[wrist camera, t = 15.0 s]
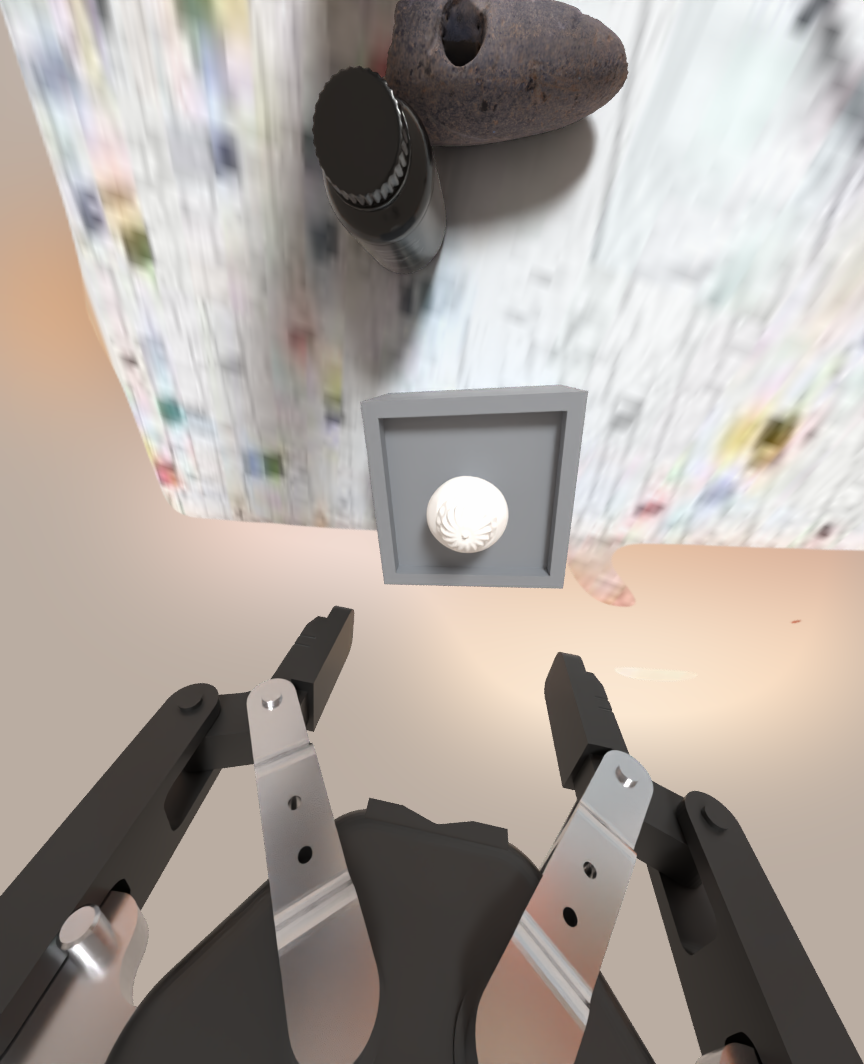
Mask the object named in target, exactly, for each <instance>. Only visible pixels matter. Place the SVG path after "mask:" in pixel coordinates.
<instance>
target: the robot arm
mask: <svg viewBox="0 0 864 1064" xmlns="http://www.w3.org/2000/svg"><path fill="white" fill-rule="evenodd" d="M353 624H354V610H353V609H349V608H344V607H339V606H334V607H333V609H332V610H331V612H330V614H329V616H328V617H327V618H325V617H320V616H318V617H316V618H315V619H314V620H312V621H311V622H309V623H308V624H307V625H306V627H305V628H304V630H303V631H302V633H301V634H300V636H299V637H298V639H297V640H296V642H295V644H294V645H293V646H292V648H291V649H290V651H289V652H288V654H287V655H286V657H285V658H284V660H283V661H282V663H281V665H280V666H279V667H278V669H277V671H276V672H275V674H274V675H273V676H272V678H271V679H270V680H267V681H264V682H262V683H260V684H259V685H257V686H256V687H255V688H254V689H253V690H252V691H249V692H246V693H236V694H225V695H218V691H217V689H216V688H215V687H214V686H212V685H210V684H205V683H200V684H199V683H198V684H193V685H189V686H187V687H184V688H182V689H180V690H178V691H177V692H175V693H174V694H173V695H171V697H169V698H168V699H167V701H166V702H165V703H164V704H163V705H162V707H161V708H160V709H159V710H158V711H157V712H156V714H155V715H154V716H153V717H152V718H151V719H150V721H149V722H148V723H147V724H146V725H145V727H144V728H143V729H142V730H141V731H140V733H139V734H138V735H137V736H136V737H135V738H134V740H133V741H132V742H131V743H130V744H129V745H128V747H127V748H126V749H125V750H124V751H123V752H122V754H121V755H120V756H119V757H118V758H117V760H116V761H115V762H114V763H113V764H112V766H111V767H110V768H109V769H108V770H107V771H106V772H105V774H104V775H103V776H102V777H101V778H100V780H99V781H98V782H97V783H96V784H95V785H94V787H93V788H92V789H91V790H90V791H89V793H88V794H87V795H86V796H85V797H84V798H83V800H82V801H81V802H80V803H79V804H78V806H77V807H76V808H75V809H74V810H73V811H72V813H71V814H70V815H69V816H68V817H67V818H66V820H65V821H64V822H63V823H62V824H61V826H60V827H59V828H58V829H57V830H56V831H55V833H54V834H53V835H52V836H51V837H50V838H49V840H48V841H47V842H46V843H45V844H44V846H43V847H42V848H41V849H40V850H39V852H38V853H37V854H36V855H35V856H34V857H33V859H32V860H31V861H30V862H29V863H28V864H27V866H26V867H25V868H24V869H23V870H22V872H21V873H20V874H19V875H18V876H17V878H16V879H15V880H14V881H13V882H12V883H11V885H10V886H9V887H8V888H7V889H6V890H5V892H4V893H3V894H2V895H1V896H0V1064H656V1063H655V1062H654V1060H653V1058H652V1057H651V1055H650V1053H649V1052H648V1050H647V1048H646V1047H645V1045H644V1044H643V1042H642V1040H641V1038H640V1037H639V1035H638V1033H637V1032H636V1030H635V1028H634V1026H633V1025H632V1023H631V1022H630V1020H629V1018H628V1017H627V1015H626V1013H625V1011H624V1010H623V1008H622V1006H621V1005H620V1003H619V1002H618V1000H617V998H616V997H615V995H614V994H613V992H612V990H611V988H610V986H609V985H608V983H607V981H606V980H605V978H604V976H603V975H602V973H601V971H600V968H601V965H602V962H603V959H604V956H605V953H606V950H607V947H608V944H609V941H610V938H611V935H612V932H613V929H614V926H615V923H616V919H617V916H618V913H619V910H620V907H621V904H622V901H623V898H624V895H625V892H626V889H627V886H628V883H629V880H630V877H631V874H632V871H633V868H634V864H635V861H636V858H638V859H639V860H641V861H643V862H645V863H646V864H647V867H648V871H649V874H650V878H651V881H652V884H653V888H654V891H655V895H656V898H657V902H658V905H659V908H660V912H661V915H662V919H663V922H664V925H665V929H666V932H667V936H668V940H669V943H670V947H671V950H672V953H673V957H674V960H675V964H676V967H677V971H678V974H679V978H680V981H681V985H682V988H683V991H684V995H685V998H686V1002H687V1005H688V1009H689V1012H690V1015H691V1019H692V1022H693V1026H694V1029H695V1033H696V1036H697V1039H698V1043H699V1046H700V1050H701V1053H702V1056H701V1057H700V1058H699V1059H698V1060H697V1061H696V1064H863V1062H862V1060H861V1058H860V1056H859V1054H858V1052H857V1050H856V1048H855V1046H854V1044H853V1042H852V1041H851V1039H850V1037H849V1035H848V1033H847V1031H846V1029H845V1027H844V1025H843V1023H842V1021H841V1019H840V1017H839V1015H838V1014H837V1012H836V1010H835V1008H834V1006H833V1004H832V1002H831V1000H830V998H829V996H828V994H827V992H826V990H825V988H824V987H823V985H822V983H821V981H820V979H819V977H818V975H817V973H816V971H815V969H814V967H813V965H812V963H811V962H810V960H809V958H808V956H807V954H806V952H805V950H804V948H803V946H802V944H801V942H800V940H799V938H798V936H797V934H796V933H795V931H794V929H793V927H792V925H791V923H790V921H789V919H788V917H787V915H786V913H785V912H784V909H783V907H782V906H781V904H780V902H779V900H778V898H777V896H776V894H775V892H774V890H773V888H772V886H771V884H770V882H769V881H768V879H767V877H766V875H765V873H764V871H763V869H762V867H761V866H760V863H759V861H758V859H757V857H756V856H755V853H754V852H753V850H752V848H751V846H750V844H749V842H748V840H747V838H746V836H745V834H744V832H743V831H742V829H741V827H740V825H739V823H738V821H737V820H736V819H735V817H734V816H733V815H732V814H731V812H730V811H729V810H728V809H727V808H726V807H725V806H724V805H722V804H721V803H720V802H719V801H718V800H716V799H715V798H713V797H712V796H710V795H707V794H705V793H702V792H699V791H692V792H689V793H688V794H687V795H686V796H685V797H684V798H683V797H682V796H679V795H678V794H676V793H674V792H672V791H670V790H668V789H666V788H664V787H662V786H660V785H658V784H657V783H655V782H653V781H652V780H651V778H650V776H649V774H648V773H647V771H646V769H645V768H644V767H643V766H642V765H641V764H640V763H639V762H638V761H637V760H636V759H635V758H633V757H632V756H630V755H629V752H628V750H627V747H626V745H625V742H624V739H623V737H622V734H621V732H620V729H619V726H618V724H617V721H616V719H615V716H614V713H613V712H612V708H611V706H610V703H609V701H608V698H607V695H606V693H605V690H604V687H603V685H602V684H601V683H600V681H599V680H598V679H597V678H596V676H595V675H594V674H593V673H590V672H586V670H585V667H584V665H583V661H582V660H581V657H580V656H577V655H572V654H567V653H562V652H558V654H557V655H556V657H555V659H554V662H553V664H552V667H551V669H550V671H549V674H548V676H547V678H546V682H545V688H544V690H545V691H544V694H545V700H546V705H547V710H548V715H549V720H550V725H551V730H552V736H553V741H554V746H555V751H556V756H557V761H558V766H559V771H560V776H561V781H562V786H563V788H567V789H572V790H575V792H576V797H577V801H576V802H575V804H574V805H573V807H572V809H571V811H570V813H569V815H568V817H567V819H566V821H565V822H564V824H563V826H562V828H561V830H560V832H559V833H558V835H557V837H556V839H555V841H554V843H553V845H552V847H551V848H550V850H549V852H548V854H547V856H546V857H545V859H544V861H543V863H542V864H541V866H540V868H539V869H538V868H537V867H536V866H535V865H534V864H533V862H532V861H531V860H530V859H529V858H528V857H527V856H526V855H525V854H524V853H522V852H521V851H520V850H519V849H518V848H516V847H515V846H514V845H512V844H510V843H509V842H508V832H507V829H504V828H501V827H496V826H492V825H487V824H483V823H479V822H474V821H471V822H459V823H449V824H435V823H433V822H431V821H430V820H428V819H426V818H424V817H422V816H421V815H419V814H417V813H415V812H414V811H412V810H410V809H408V808H406V807H405V806H403V805H399V804H394V803H390V802H386V801H381V800H377V799H372V798H369V801H368V806H367V809H363V810H357V811H353V812H349V813H347V814H344V815H342V816H340V817H338V818H337V819H335V820H334V818H333V814H332V811H331V807H330V803H329V799H328V796H327V792H326V788H325V785H324V781H323V777H322V774H321V770H320V767H319V763H318V759H317V756H316V752H315V749H314V746H313V744H312V743H310V741H309V739H308V735H307V731H306V730H309V731H313V732H314V730H315V728H316V725H317V723H318V721H319V719H320V717H321V714H322V712H323V710H324V707H325V705H326V703H327V701H328V699H329V696H330V694H331V692H332V690H333V688H334V685H335V683H336V681H337V679H338V676H339V674H340V672H341V670H342V668H343V665H344V663H345V661H346V659H347V656H348V654H349V651H350V648H351V644H352V638H353ZM249 764H254V766H255V773H256V782H257V790H258V798H259V806H260V813H261V821H262V829H263V837H264V845H265V852H266V860H267V868H268V875H269V879H268V880H267V881H266V882H264V883H263V884H262V885H261V886H260V887H259V888H258V889H257V890H256V891H255V892H254V893H253V894H252V895H251V896H249V897H248V899H246V900H245V901H244V902H243V903H242V904H241V905H240V906H239V907H238V908H237V909H236V910H234V911H233V912H232V913H231V914H230V915H229V916H228V917H227V918H226V919H225V920H224V921H223V922H222V923H221V924H219V925H218V926H217V927H216V928H215V929H214V930H213V931H212V932H211V933H210V934H209V935H208V936H207V937H205V938H204V939H203V940H202V941H201V942H200V943H199V944H198V945H197V946H196V947H195V948H194V949H193V950H192V951H190V952H189V953H188V954H187V955H186V956H185V957H184V958H183V959H182V960H181V961H180V962H179V963H178V964H176V965H175V966H174V968H172V969H171V970H170V971H169V972H168V973H167V974H166V975H165V976H164V977H163V978H162V979H161V980H160V981H159V982H158V983H157V984H156V985H155V986H154V988H153V989H152V990H151V991H150V992H149V993H148V994H147V996H146V997H145V998H144V1000H143V1001H142V1002H141V1003H140V1005H139V1006H138V1007H136V1006H134V1005H133V997H132V996H133V985H134V979H135V976H136V973H137V969H138V967H139V965H140V963H141V960H142V957H143V955H144V953H145V950H146V946H147V942H148V931H149V930H148V925H147V922H146V920H145V918H144V916H143V914H142V913H141V909H142V907H143V905H144V904H145V902H146V900H147V899H148V897H149V895H150V893H151V891H152V890H153V888H154V886H155V884H156V883H157V881H158V879H159V878H160V876H161V874H162V872H163V871H164V869H165V867H166V865H167V864H168V862H169V860H170V858H171V857H172V855H173V853H174V851H175V849H176V848H177V846H178V844H179V843H180V841H181V839H182V837H183V836H184V834H185V832H186V830H187V828H188V827H189V825H190V823H191V822H192V820H193V818H194V816H195V814H196V813H197V811H198V809H199V808H200V806H201V804H202V802H203V801H204V799H205V797H206V795H207V794H208V792H209V790H210V788H211V787H212V785H213V783H214V781H215V780H216V778H217V776H218V774H219V773H220V771H221V769H222V768H228V767H235V766H242V765H249Z"/></svg>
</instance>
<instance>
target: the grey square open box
mask: <svg viewBox="0 0 864 1064" xmlns="http://www.w3.org/2000/svg"><path fill="white" fill-rule="evenodd" d="M587 395H588V391H585V390H580V389H576V388H572V387H568V386H563V385H545V386H525V387H505V388H485V389H465V390H445V391H425V392H405V393H388V394H385V395H382V396H378V397H375V398H372V399H369V400H365V401H362V402H360V403H361V410H362V418H363V425H364V433H365V441H366V448H367V456H368V463H369V471H370V479H371V486H372V494H373V501H374V509H375V516H376V524H377V532H378V539H379V547H380V554H381V562H382V570H383V576H384V584H400V585H403V584H404V585H443V586H483V587H523V588H563V584H564V576H565V568H566V560H567V552H568V544H569V536H570V529H571V521H572V513H573V505H574V497H575V489H576V481H577V473H578V466H579V458H580V450H581V442H582V434H583V426H584V418H585V410H586V403H587ZM460 476H472V477H478V478H481V479H484V480H486V481H488V482H490V483H491V484H493V485H494V486H495V487H497V488H498V489H499V490H500V492H501V493H502V494H503V496H504V498H505V500H506V503H507V506H508V523H507V526H506V529H505V531H504V532H503V534H502V536H501V537H500V538H499V539H498V541H497V542H495V543H494V544H493V545H492V546H490V547H489V548H487V549H485V550H482V551H479V552H474V553H461V552H457V551H454V550H451V549H449V548H447V547H446V546H444V545H443V544H441V543H440V542H439V541H438V540H437V539H436V538H435V537H434V536H433V534H432V533H431V531H430V529H429V526H428V523H427V506H428V503H429V500H430V498H431V497H432V495H433V494H434V492H435V491H436V490H437V489H438V488H439V487H440V486H441V485H442V484H444V483H445V482H446V481H448V480H450V479H452V478H455V477H460Z"/></svg>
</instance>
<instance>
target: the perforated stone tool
mask: <svg viewBox="0 0 864 1064" xmlns="http://www.w3.org/2000/svg"><path fill="white" fill-rule="evenodd" d="M394 18H395V24H394V29H393V38H392V44H391V46H390V48H389V51H388V59H387V70H386V75H385V76H384V77H382V79H385V80H386V81H387V83H388V85H389V87H390V88H391V89H392V90H393V91H394V93H395V94H396V95H398V96H399V97H401V98H402V99H404V100H405V101H406V102H407V103H408V104H409V105H410V106H411V107H412V108H413V109H414V110H415V112H416V113H417V114H418V116H419V117H420V119H421V120H422V122H423V124H424V126H425V129H426V131H427V133H428V136H429V139H430V142H431V145H432V146H433V145H434V146H469V145H481V144H489V143H497V142H502V141H506V140H514V139H518V138H522V137H527V136H531V135H536V134H541V133H545V132H548V131H552V130H555V129H559V128H562V127H565V126H567V125H569V124H572V123H574V122H576V121H578V120H580V119H582V118H584V117H586V116H588V115H590V114H592V113H593V112H595V111H596V110H598V109H599V108H601V107H602V106H604V105H605V104H606V103H608V102H609V101H610V100H611V99H612V98H613V97H614V96H615V95H616V94H617V93H618V92H619V90H620V89H621V88H622V87H623V85H624V82H625V80H626V79H627V74H628V71H627V67H628V63H627V62H626V59H627V58H626V54H625V49H624V46H623V44H622V42H621V40H620V39H619V37H618V36H617V35H616V34H615V33H614V32H613V31H612V30H610V29H609V28H608V27H607V26H605V25H604V24H603V23H602V22H601V21H599V20H598V19H594V18H593V17H590V16H589V15H585V14H582V13H581V12H580V10H579V9H578V8H576V7H574V6H571V5H568V4H566V3H563V2H559V1H555V0H402V1H399V2H398V3H397V5H396V9H395V16H394Z"/></svg>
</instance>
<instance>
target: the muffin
mask: <svg viewBox="0 0 864 1064" xmlns="http://www.w3.org/2000/svg"><path fill="white" fill-rule="evenodd" d="M427 523H428V526H429V529H430V531H431V533H432V534H433V536H434V537H435V538H436V539H437V540H438V541H439V542H440V543H441V544H443V545H444V546H446V547H447V548H449V549H451V550H454V551H457V552H461V553H474V552H479V551H482V550H485V549H487V548H489V547H490V546H492V545H493V544H494V543H495V542H497V541H498V539H499V538H500V537H501V536H502V534H503V532H504V531H505V529H506V526H507V523H508V506H507V503H506V500H505V498H504V496H503V494H502V493H501V492H500V490H499V489H498V488H497V487H495V486H494V485H493V484H491V483H490V482H488V481H486V480H484V479H481V478H478V477H472V476H460V477H455V478H452V479H450V480H448V481H446V482H445V483H444V484H442V485H441V486H440V487H439V488H438V489H437V490H436V491H435V492H434V494H433V495H432V497H431V498H430V500H429V503H428V506H427Z"/></svg>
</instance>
